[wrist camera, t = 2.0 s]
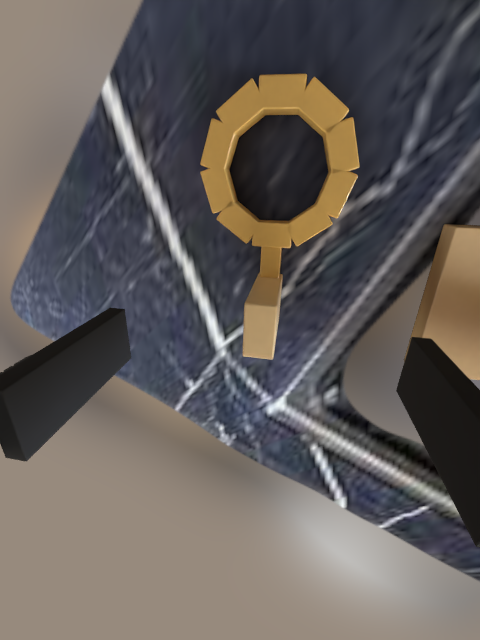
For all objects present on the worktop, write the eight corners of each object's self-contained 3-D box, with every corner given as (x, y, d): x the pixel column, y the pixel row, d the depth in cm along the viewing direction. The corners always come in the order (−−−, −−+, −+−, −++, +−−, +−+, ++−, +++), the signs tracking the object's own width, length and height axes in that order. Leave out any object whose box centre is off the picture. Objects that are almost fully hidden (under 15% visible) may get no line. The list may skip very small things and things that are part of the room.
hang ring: (205, 85, 16) (158, 31, 11) (369, 80, 15) (411, 17, 9) (209, 309, 21) (179, 349, 16) (329, 320, 20) (342, 368, 15)
